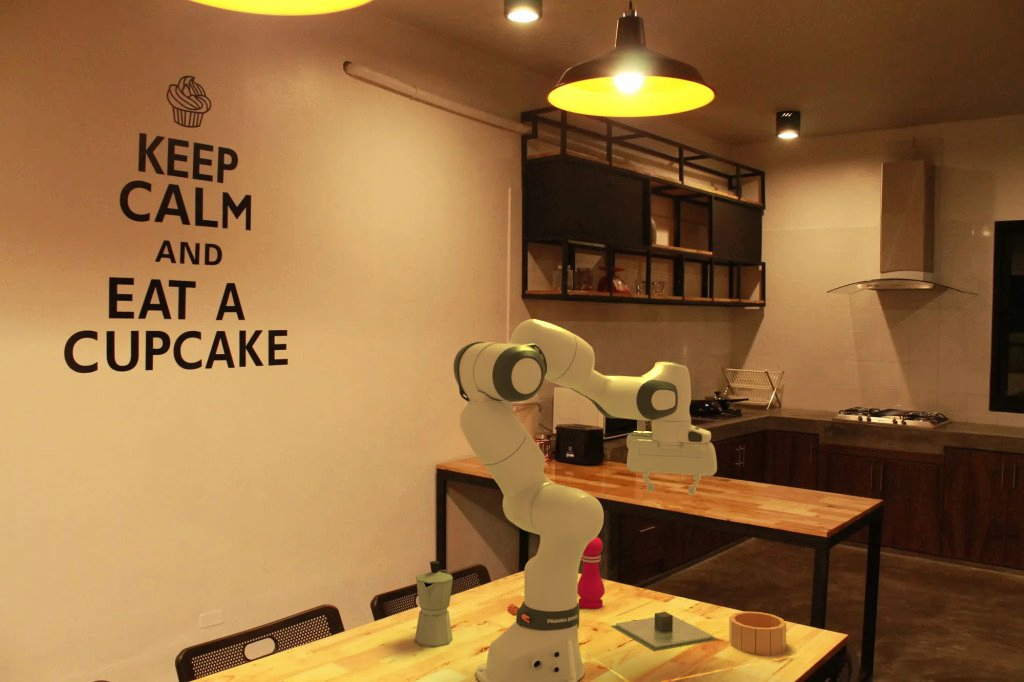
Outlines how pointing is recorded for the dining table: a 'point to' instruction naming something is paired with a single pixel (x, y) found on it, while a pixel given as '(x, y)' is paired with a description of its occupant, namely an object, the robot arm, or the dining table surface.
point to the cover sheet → (663, 631)
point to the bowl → (757, 633)
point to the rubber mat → (664, 647)
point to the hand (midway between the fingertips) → (671, 492)
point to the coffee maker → (434, 607)
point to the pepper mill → (591, 577)
